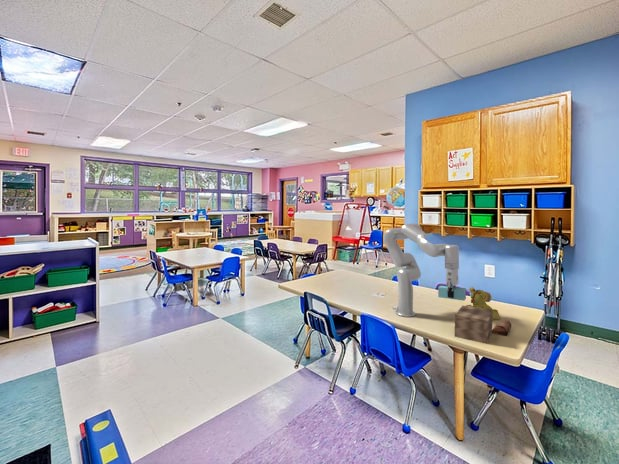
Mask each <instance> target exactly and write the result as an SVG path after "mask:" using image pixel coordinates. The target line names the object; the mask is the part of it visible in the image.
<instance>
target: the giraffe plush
mask: <svg viewBox="0 0 619 464" xmlns="http://www.w3.org/2000/svg"><path fill="white" fill-rule="evenodd" d="M468 292H469V293H470V303H471V304H466V305H465V306H468V307H474V308H480V309H486V310H492V311H493V319H492V320H500V318H501V315H500V313H499V310H497V309H493V308H492V306H490V305H488V304H487V303H490V302H491V301H492V295H491V293H490V292H488V291H484V290H482V289H476V288H474V286H471V287H469V288H468Z"/></svg>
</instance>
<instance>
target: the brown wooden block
mask: <svg viewBox="0 0 619 464" xmlns="http://www.w3.org/2000/svg"><path fill="white" fill-rule="evenodd" d="M493 320H494V319H493V311H492V310H486V309H480V308H474V307H468V306H466V305H461V307H460V308H459V309H458V311H457V312H456V313H455V314H454V337H455V338H459V339H464V340H468V341H473V342H477V343H480V344H481V343H482V344H485V345H488V343H489V340H490V339H491V336H492V334H493V333H492V330H493Z"/></svg>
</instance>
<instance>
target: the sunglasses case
mask: <svg viewBox="0 0 619 464" xmlns="http://www.w3.org/2000/svg"><path fill="white" fill-rule="evenodd" d="M511 327H512V322H511V321H509V320H505V321H501V322H498V323H497V322H496V323H495V324H494V327H492V333H491V334H497V335H500V336H504V337H508V336H509V333H510V329H511Z"/></svg>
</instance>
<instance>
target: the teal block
mask: <svg viewBox="0 0 619 464" xmlns="http://www.w3.org/2000/svg"><path fill="white" fill-rule="evenodd" d="M451 288H452V287H451ZM437 289H438V290H437V293H438V295H437V297H438V298H443V299H450V300H457V301H465V300H466V299H467V288H465V287H457V286H456V287H453V291H454V298H449V297H448V286H447V285H446V286H445V285H439V286H438V288H437Z"/></svg>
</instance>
